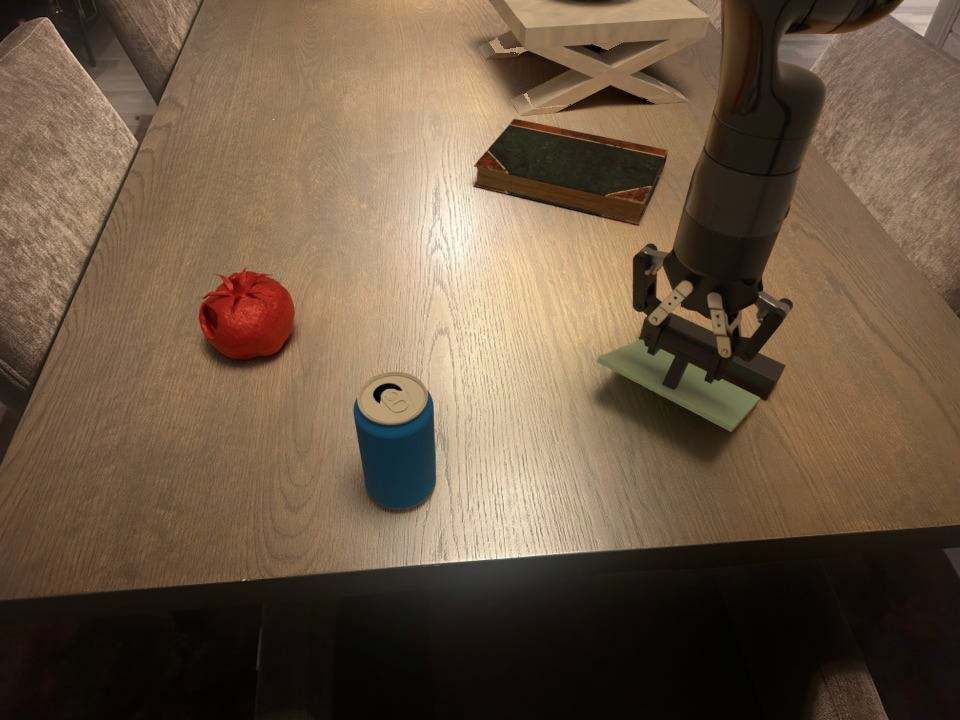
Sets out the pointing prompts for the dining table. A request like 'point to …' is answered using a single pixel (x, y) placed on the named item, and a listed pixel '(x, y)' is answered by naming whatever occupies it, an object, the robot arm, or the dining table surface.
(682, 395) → the sign
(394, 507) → the beverage can
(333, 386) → the dining table surface
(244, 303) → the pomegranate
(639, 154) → the book
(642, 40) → the wooden side table
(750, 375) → the stand
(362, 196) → the dining table surface
